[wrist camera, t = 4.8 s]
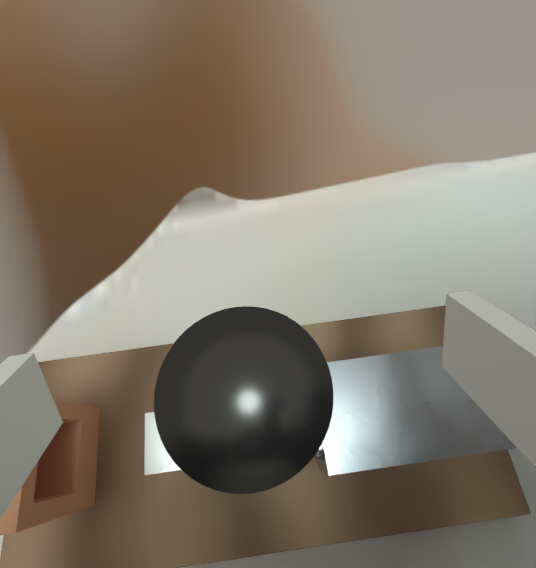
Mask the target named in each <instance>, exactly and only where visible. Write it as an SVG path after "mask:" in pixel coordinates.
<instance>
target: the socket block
mask: <svg viewBox="0 0 536 568" xmlns="http://www.w3.org/2000/svg"><path fill="white" fill-rule="evenodd" d="M53 400H54V402H55V405H56V407H57V409H58V412H59V414H60V417H61V419H62V421H63V423H62V425H61V426H60V428H59V429H58V431H57V433H56V434H55V436H54V437H53V439H52V440H51V442H50V443H49V445H48V446H47V448H46V450H45V451H44V453H43V454H42V456H41V457H40V459H39V460H38V462H37V464H36V465H35V467H34V468H33V470H32V471H31V473H30V474H29V476H28V477H27V479H26V481H25V482H24V484H23V485H22V487H21V488H20V490H19V491H18V493H17V494H16V496H15V498H14V499H13V501H12V502H11V504H10V505H9V507H8V508H7V510H6V511H5V513H4V515H3V516H2V518H1V519H0V535H4V534H11V533H17V532H20V531H22V530H25V529H28V528H31V527H34V526H37V525H40V524H43V523H46V522H49V521H51V520H54V519H57V518H60V517H63V516H66V515H69V514H72V513H75V512H78V511H80V510H83V509H86V508H89V507H92V506H95V491H96V473H97V455H98V436H99V418H100V407H95V406H90V405H84V404H79V403H73V402H68V401H62V400H57V399H53Z"/></svg>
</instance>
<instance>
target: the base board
mask: <svg viewBox="0 0 536 568" xmlns="http://www.w3.org/2000/svg"><path fill="white" fill-rule="evenodd" d="M445 309H446V306H441V307H434V308H426V309H419V310H412V311H405V312H398V313H390V314H383V315H376V316H369V317H362V318H355V319H347V320H340V321H333V322H326V323H319V324H311V325H304V326H301V327H302V328H304V329H305V330H306V331H307V332H308V333H309V334H310V335H311V337H312V338H313V339H314V340H315V342H316V343H317V344H318V346H319V348H320V349H321V351H322V353H323V355H324V357H325V359H326V362H334V361H341V360H348V359H355V358H362V357H369V356H376V355H383V354H390V353H397V352H404V351H411V350H418V349H425V348H432V347H439V346H443V340H444V324H445ZM172 346H173V344H168V345H161V346H153V347H146V348H139V349H132V350H125V351H117V352H110V353H103V354H96V355H89V356H82V357H74V358H67V359H60V360H53V361H46V362H38V364H39V366H40V369H41V371H42V374H43V376H44V378H45V381H46V383H47V386H48V388H49V390H50V393H51V395H52V397H53V399H57V400H62V401H68V402H73V403H79V404H84V405H90V406H95V407H100V418H99V436H98V455H97V473H96V491H95V506H92V507H89V508H86V509H83V510H80V511H78V512H75V513H72V514H69V515H66V516H63V517H60V518H57V519H54V520H51V521H49V522H46V523H43V524H40V525H37V526H34V527H31V528H28V529H25V530H22V531H20V532H17V533H11V534H4V537H3V544H2V552H1V559H0V568H178V567H185V566H191V565H198V564H204V563H211V562H218V561H224V560H231V559H237V558H244V557H250V556H257V555H263V554H270V553H277V552H283V551H290V550H296V549H303V548H309V547H316V546H322V545H329V544H336V543H342V542H349V541H355V540H362V539H368V538H375V537H382V536H388V535H395V534H401V533H408V532H414V531H421V530H427V529H434V528H441V527H447V526H454V525H460V524H467V523H473V522H480V521H486V520H493V519H500V518H506V517H513V516H519V515H526V514H531V513H530V510H529V507H528V504H527V502H526V499H525V496H524V494H523V491H522V488H521V485H520V483H519V480H518V477H517V475H516V472H515V469H514V466H513V464H512V461H511V458H510V456H509V453H508V450H507V449H506V450H499V451H493V452H486V453H479V454H473V455H466V456H459V457H452V458H446V459H439V460H432V461H425V462H419V463H412V464H405V465H398V466H392V467H385V468H378V469H371V470H365V471H358V472H351V473H344V474H338V475H331V476H328V475H327V474H326V473H324V472H323V471H322V470H320V469H319V468H318V463H317V457H316V454H315V456H314V457H313V458H312V460H311V461H310V462H309V463H308V464H307V465H306V466H305V467H304V468H303V469H302V470H301V471H300V472H299V473H298V474H296V475H295V476H294V477H292V478H291V479H290V480H288V481H286V482H284V483H283V484H281V485H279V486H277V487H274V488H271V489H269V490H266V491H262V492H257V493H251V494H231V493H224V492H220V491H216V490H213V489H211V488H208V487H206V486H203V485H201V484H200V483H198V482H196V481H195V480H193V479H192V478H190V477H189V476H188V475H187V474H185V473H184V472H183V471H182V470H177V471H170V472H164V473H157V474H150V475H144V474H145V413H150V412H154V391H155V386H156V380H157V377H158V374H159V370H160V368H161V365H162V363H163V361H164V359H165V357H166V355H167V353H168V352H169V350H170V348H171V347H172Z"/></svg>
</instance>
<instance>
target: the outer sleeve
mask: <svg viewBox="0 0 536 568" xmlns="http://www.w3.org/2000/svg"><path fill="white" fill-rule="evenodd" d="M442 356H443V346H439V347H432V348H425V349H418V350H411V351H404V352H397V353H390V354H383V355H376V356H369V357H362V358H355V359H348V360H341V361H334V362H327V364H328V366H329V370H330V374H331V377H332V384H333V411H332V417H331V421H330V425H329V429H328V431H327V434H326V436H325V439H324V441H323V443H322V448H323V449H320V450H318V451H317V453H316V457H317V463H318V468H319V469H320V470H322V471H323V472H324V473H326V474H327V475H328V476H331V475H338V474H344V473H351V472H358V471H365V470H371V469H378V468H385V467H392V466H398V465H405V464H412V463H419V462H425V461H432V460H439V459H446V458H452V457H459V456H466V455H473V454H479V453H486V452H493V451H499V450H506V449H513V448H517V447H516V446H515V445H514V444H513V442H512V441H511V440H510V439H509V438H508V437H507V436H506V435H505V434H504V433H503V432H502V431H501V430H500V428H499V427H498V426H497V425H496V424H495V423H494V422H493V421H492V420H491V419H490V418H489V417H488V416H487V414H486V413H485V412H484V411H483V410H482V409H481V408H480V407H479V406H478V405H477V404H476V403H475V402H474V400H473V399H472V398H471V397H470V396H469V395H468V394H467V393H466V392H465V391H464V390H463V389H462V387H461V386H460V385H459V384H458V383H457V382H456V381H455V380H454V379H453V378H452V377H451V376H450V375H449V373H448V372H447V371H446V370H445V369H444V368H443V367H442Z"/></svg>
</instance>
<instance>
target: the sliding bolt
mask: <svg viewBox="0 0 536 568" xmlns="http://www.w3.org/2000/svg"><path fill="white" fill-rule="evenodd" d="M332 411H333V384H332V377H331V374H330V370H329V366H328V364H327V362H326V359H325V357H324V355H323V353H322V351H321V349H320V348H319V346H318V344H317V343H316V342H315V340H314V339H313V338H312V337H311V335H310V334H309V333H308V332H307V331H306V330H305V329H304V328H302V327H301V326H300V325H299V324H297V323H296V322H295V321H293V320H291V319H290V318H288V317H287V316H284V315H282V314H280V313H278V312H275V311H272V310H269V309H265V308H259V307H246V306H245V307H234V308H229V309H224V310H221V311H218V312H215V313H212V314H210V315H208V316H206V317H204V318H202V319H201V320H199V321H198V322H196V323H194V324H193V325H192V326H191V327H189V328H188V329H187V330H186V331H185V332H184V333H183V334H182V335H181V336H180V337H179V338H178V339H177V340H176V342H175V343H174V344H173V346H172V347H171V348H170V350H169V352H168V353H167V355H166V357H165V359H164V361H163V363H162V365H161V368H160V370H159V374H158V377H157V380H156V386H155V391H154V412H150V413H145V474H144V475H150V474H157V473H164V472H170V471H177V470H182V471H183V472H184V473H185V474H187V475H188V476H189V477H190V478H192V479H193V480H195V481H196V482H198V483H200V484H201V485H203V486H206V487H208V488H211V489H213V490H216V491H220V492H224V493H231V494H251V493H257V492H262V491H266V490H269V489H271V488H274V487H277V486H279V485H281V484H283V483H284V482H286V481H288V480H290V479H291V478H292V477H294V476H295V475H296V474H298V473H299V472H300V471H301V470H302V469H303V468H304V467H305V466H306V465H307V464H308V463H309V462H310V461H311V460H312V458H313V457H314V456H315V454H316V453H317V451H318V450H320V449H323V448H322V443H323V441H324V439H325V436H326V434H327V431H328V429H329V425H330V421H331V417H332Z"/></svg>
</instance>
